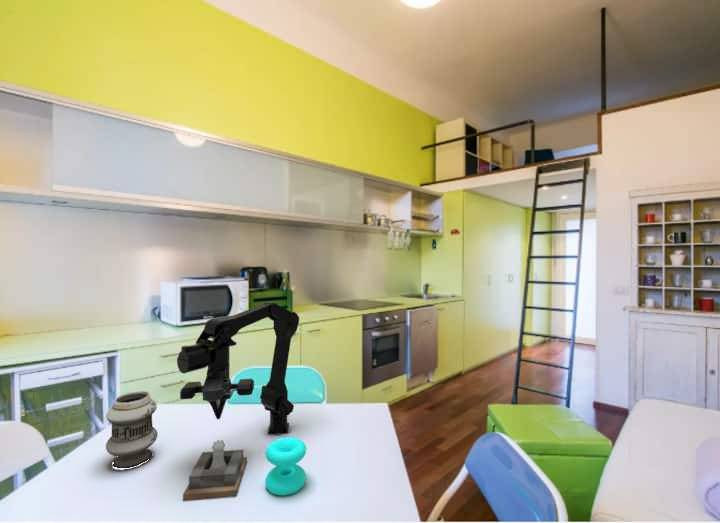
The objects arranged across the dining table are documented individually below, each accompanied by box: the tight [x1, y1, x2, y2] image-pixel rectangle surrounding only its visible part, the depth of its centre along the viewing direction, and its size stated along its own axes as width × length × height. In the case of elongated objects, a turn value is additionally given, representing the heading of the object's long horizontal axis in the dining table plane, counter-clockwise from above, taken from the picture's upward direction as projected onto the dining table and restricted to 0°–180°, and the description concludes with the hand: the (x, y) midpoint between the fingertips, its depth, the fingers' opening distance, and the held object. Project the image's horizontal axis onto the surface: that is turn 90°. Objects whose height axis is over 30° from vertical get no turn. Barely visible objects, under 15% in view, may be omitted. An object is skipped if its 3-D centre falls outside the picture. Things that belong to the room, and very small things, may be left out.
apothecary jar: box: [105, 390, 158, 468], centre depth 96 cm, size 12×12×18 cm
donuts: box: [264, 436, 307, 496], centre depth 86 cm, size 10×10×10 cm
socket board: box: [182, 449, 248, 502], centre depth 88 cm, size 14×12×4 cm
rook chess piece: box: [210, 440, 227, 469], centre depth 88 cm, size 4×4×8 cm
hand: (218, 418), depth 96 cm, fingers closed
